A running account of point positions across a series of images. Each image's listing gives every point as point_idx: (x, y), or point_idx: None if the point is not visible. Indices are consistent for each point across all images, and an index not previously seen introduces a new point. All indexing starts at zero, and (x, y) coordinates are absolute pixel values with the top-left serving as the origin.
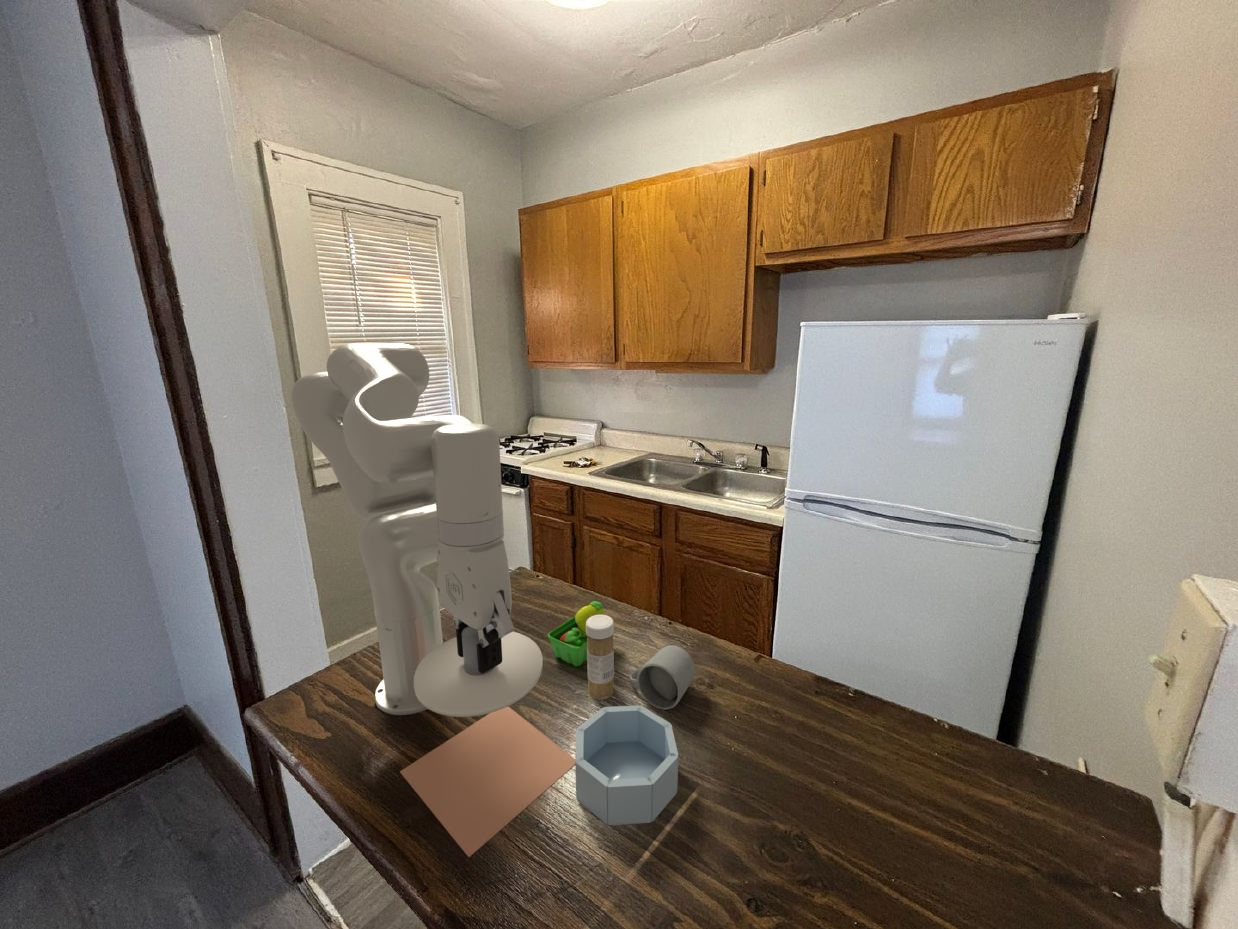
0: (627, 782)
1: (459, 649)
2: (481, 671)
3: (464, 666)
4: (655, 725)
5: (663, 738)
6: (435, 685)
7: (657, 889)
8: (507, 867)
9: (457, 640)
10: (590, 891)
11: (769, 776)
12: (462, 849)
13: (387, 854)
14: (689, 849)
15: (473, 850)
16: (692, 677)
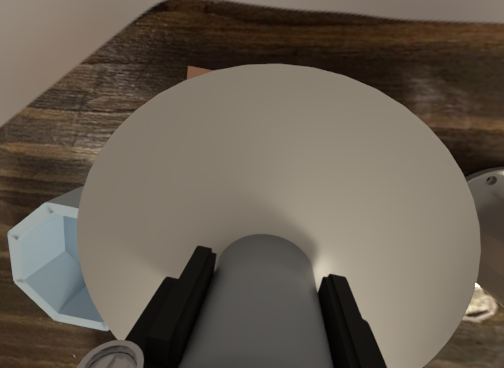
0: (31, 220)
1: (338, 295)
2: (196, 251)
3: (288, 248)
4: (77, 311)
5: (73, 299)
6: (317, 141)
7: (14, 153)
8: (147, 86)
9: (360, 330)
10: (60, 116)
11: (9, 305)
12: (202, 68)
13: (286, 9)
14: (17, 202)
15: (189, 74)
16: None
